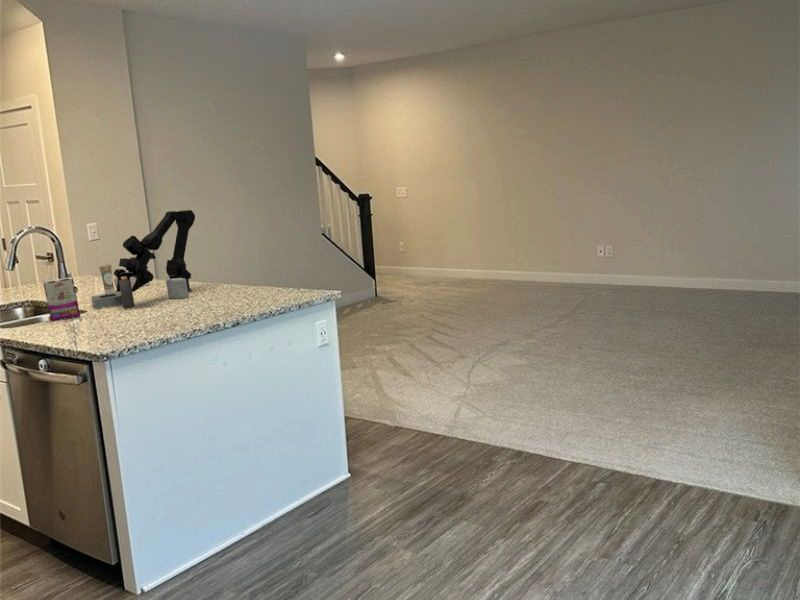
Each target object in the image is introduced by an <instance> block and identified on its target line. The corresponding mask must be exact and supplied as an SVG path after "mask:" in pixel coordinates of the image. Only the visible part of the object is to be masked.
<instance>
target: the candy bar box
mask: <svg viewBox="0 0 800 600" xmlns="http://www.w3.org/2000/svg"><path fill="white" fill-rule="evenodd" d="M42 283H43V289H44V293H45V297H46V302H47V303H46V304H47V308H48V312H49V319H50V321H51V322H55V320H57V321H61V320H60V319H63V320H66V319H65V318H69V319H73V318H72V317H74V318H79V316H80V317H81V313H80V308H79V301H78V297H77V294H76V293H77V292H76V287H75V284H74V283H75V282H74V278H73V276H72V277H71V276H70V277H69V276H68V277H64V278H57V279H50V280H44V281H43V282H42Z"/></svg>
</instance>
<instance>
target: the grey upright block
mask: <svg viewBox="0 0 800 600" xmlns="http://www.w3.org/2000/svg"><path fill="white" fill-rule="evenodd" d="M119 285H120V291H119V292H120V293H121V297H122V303H123V305H122V308H125V309H124V310H127V309H126V308H130V309H133V308H132V307H134V308H135V307H136V306H135V305H136V304H135V299H134V295H133V294H134V292H132V287H131V281H130V279H127V276H124V277H121V280H120V281H119Z"/></svg>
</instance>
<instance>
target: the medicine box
mask: <svg viewBox="0 0 800 600" xmlns="http://www.w3.org/2000/svg"><path fill="white" fill-rule="evenodd" d="M165 283H166V290H167V295H168V299H169V300H174V299H175V300H176V299H177V300H182V299H183V298H184V299H186V297H187V298H189V292H188V290H187V284H186V279H185V278H173V279H170V278H169V279H167V280H165ZM184 299H183V300H184Z"/></svg>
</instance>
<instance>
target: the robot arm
mask: <svg viewBox="0 0 800 600" xmlns="http://www.w3.org/2000/svg"><path fill="white" fill-rule="evenodd" d="M195 219H196V214H195V213H194V211H193V210H191V209H187V210H186V209H185V210H184V209H183V210H179V211H175V210H171V211H167V212H165V214H164V216H163V217H162V219H161V220H160V221H159V222H158V224H157V225H156V227H154V229H153V230H152V231H151V232H150V233H149V234H147V235H145V236H144V237H143V238H142V239H141V241H140V240H139V239H138V238H137V236H135V235H130V237H128V238H127V239H125V240H124V241H123V243H122V247H123V248H124V249H125V250H126V251H127V252H128V253H129V254H131V255H132V256H133V257H130V258H119V262H118V263H119V264H118V266H119V267H123V268H125V269H123V268H117V269H115V270H114V272H113V275H114V276H115V278H117V279H118V282H117V289H116V293H117V292H121V291H120V285H119V281H120V280H121V277H124V276H127V279H130V277H136V281H135V280H134V281H135V283H134V286H133V288H132V293H135V292H136V291H137V290H139V289H140V288H143V287H142V286H143V285H145V284H146V283H149V284H150V282H152V281H153V280H154V277H155V276H154V274H153V273H152V272H151V271H150V270H149V267H148V264H149V262H150V261H151V260H155V259H157V258H156V255H155V252H151V251H157V250H158V251H159V249H160V247H161V245H162V244H163V238H164V237H165V235H166V234H167V232H168V231H169V229H170V228H171V227H172V226H173V224H176V226H177V231H176V238H175V242H174V247H173V249H174V250H173V254H172V258H170V259H168V260H166V267H165V269H166V274H167V275H168V278H169V279H173V278H185V279H186V284H187V290H188V293H189V292H191V291H192V288H191V287H190V279H192V278H191V277H192V273H191V272H190V271H188V270H187V264H186V261H185V255H186V254H185V253H186V250H187V249H186V247H187V242H188V236H189V231H190V229H191V228H192V226H193V225H194V223H195ZM174 222H175V223H174ZM135 255H136V257H135Z"/></svg>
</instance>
